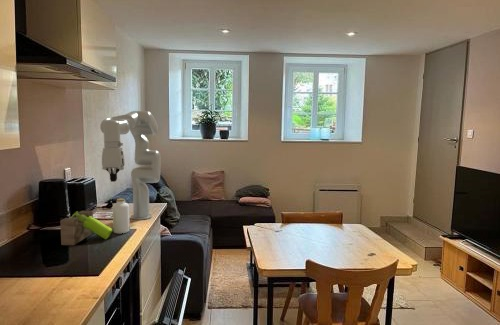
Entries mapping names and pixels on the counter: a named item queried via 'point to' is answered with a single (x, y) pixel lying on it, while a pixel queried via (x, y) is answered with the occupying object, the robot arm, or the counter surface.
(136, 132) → the robot arm
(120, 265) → the counter surface
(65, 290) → the counter surface
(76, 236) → the bottle rest
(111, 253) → the counter surface
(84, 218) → the soap dispenser
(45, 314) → the counter surface
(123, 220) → the potion bottle
